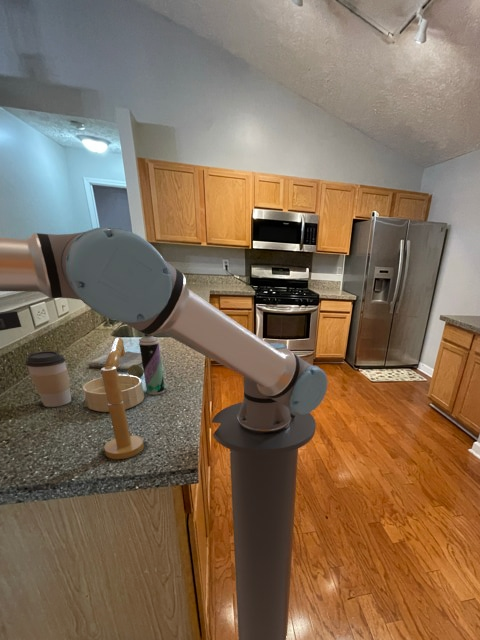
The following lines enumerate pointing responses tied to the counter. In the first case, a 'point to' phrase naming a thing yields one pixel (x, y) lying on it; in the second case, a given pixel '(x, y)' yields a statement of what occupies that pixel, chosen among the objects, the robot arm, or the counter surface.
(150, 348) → the spray can
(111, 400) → the faucet spout
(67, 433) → the counter surface
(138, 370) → the lime
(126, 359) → the dish towel
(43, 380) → the coffee cup
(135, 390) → the cream bowl
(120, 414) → the base
